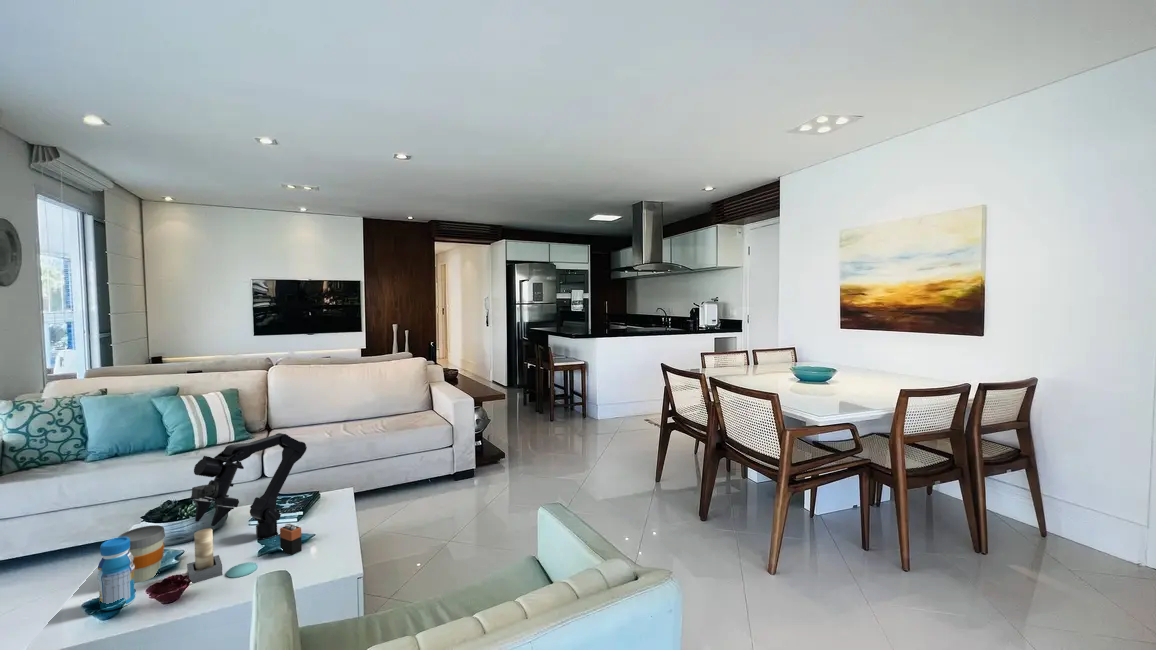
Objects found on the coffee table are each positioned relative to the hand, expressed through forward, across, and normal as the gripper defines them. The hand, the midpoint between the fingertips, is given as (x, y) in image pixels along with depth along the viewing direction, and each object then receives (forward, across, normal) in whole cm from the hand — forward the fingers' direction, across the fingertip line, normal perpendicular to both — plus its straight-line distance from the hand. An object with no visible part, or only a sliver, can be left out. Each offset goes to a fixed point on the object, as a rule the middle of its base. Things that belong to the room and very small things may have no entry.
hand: (204, 523), depth 177 cm
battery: (+5, +21, +22) cm, 31 cm away
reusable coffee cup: (+19, -10, -6) cm, 23 cm away
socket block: (+15, +8, +2) cm, 17 cm away
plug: (+15, +8, +2) cm, 17 cm away
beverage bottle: (+25, +2, -17) cm, 30 cm away
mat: (+12, +18, +8) cm, 23 cm away
